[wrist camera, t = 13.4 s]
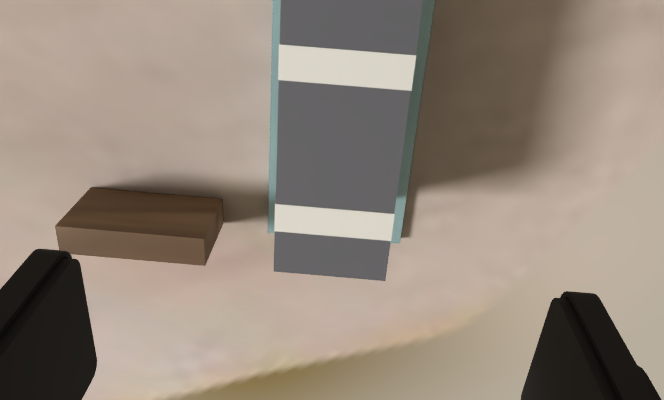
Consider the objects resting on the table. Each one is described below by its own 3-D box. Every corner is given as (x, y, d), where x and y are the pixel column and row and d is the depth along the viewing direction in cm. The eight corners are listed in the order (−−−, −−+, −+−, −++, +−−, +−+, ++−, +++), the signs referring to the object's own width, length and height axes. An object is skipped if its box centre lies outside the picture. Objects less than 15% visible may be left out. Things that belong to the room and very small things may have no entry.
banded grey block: (301, -40, 25) (280, -17, 18) (409, -32, 25) (424, -5, 18) (292, 192, 30) (273, 271, 24) (381, 199, 30) (385, 281, 23)
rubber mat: (276, -109, 24) (274, -109, 23) (447, -95, 24) (449, -95, 23) (269, 227, 31) (268, 232, 31) (399, 238, 31) (399, 243, 31)
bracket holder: (46, -127, 24) (-9, -130, 20) (215, -113, 24) (190, -114, 20) (94, 212, 31) (59, 253, 28) (222, 223, 31) (205, 265, 28)
